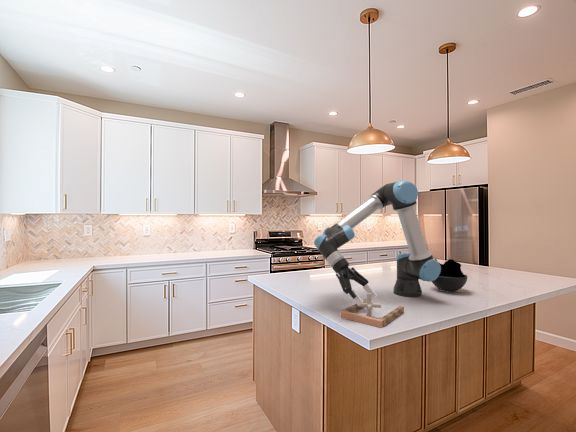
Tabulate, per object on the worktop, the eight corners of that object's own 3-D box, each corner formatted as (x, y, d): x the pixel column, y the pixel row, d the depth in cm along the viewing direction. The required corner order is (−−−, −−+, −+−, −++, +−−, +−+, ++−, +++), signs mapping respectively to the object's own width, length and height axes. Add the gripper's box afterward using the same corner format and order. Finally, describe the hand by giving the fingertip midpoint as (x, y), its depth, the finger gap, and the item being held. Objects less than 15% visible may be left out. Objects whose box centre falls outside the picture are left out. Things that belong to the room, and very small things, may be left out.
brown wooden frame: (365, 304, 147) (365, 299, 147) (403, 312, 135) (403, 307, 135) (342, 316, 130) (342, 310, 130) (384, 326, 117) (384, 320, 117)
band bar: (343, 316, 129) (343, 310, 129) (382, 326, 118) (382, 320, 118) (340, 317, 128) (340, 311, 128) (380, 327, 116) (380, 321, 116)
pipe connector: (382, 321, 123) (382, 297, 123) (357, 319, 125) (358, 295, 125) (379, 314, 133) (379, 291, 133) (356, 312, 135) (357, 290, 135)
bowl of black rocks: (471, 291, 174) (471, 259, 174) (461, 297, 160) (461, 263, 160) (435, 285, 189) (436, 256, 189) (423, 291, 174) (423, 259, 175)
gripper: (345, 264, 150) (374, 299, 140) (318, 271, 130) (348, 312, 121) (355, 254, 146) (384, 289, 137) (328, 260, 127) (360, 301, 117)
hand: (368, 300), depth 129 cm, fingers open, 13 cm apart
